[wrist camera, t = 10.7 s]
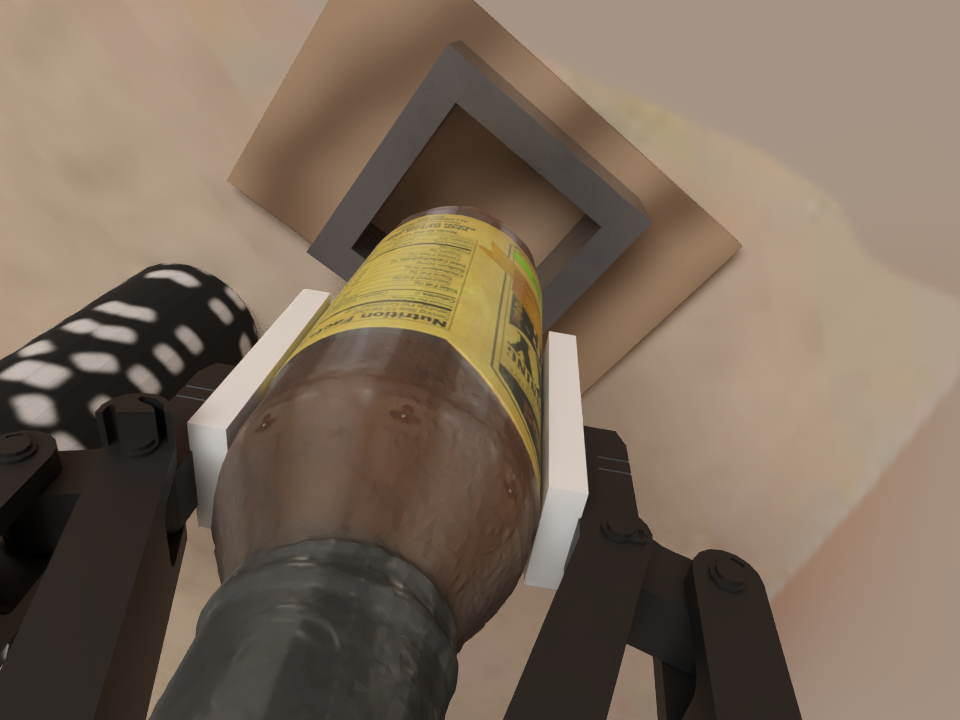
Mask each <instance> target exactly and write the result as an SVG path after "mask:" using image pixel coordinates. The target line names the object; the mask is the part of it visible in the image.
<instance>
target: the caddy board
mask: <svg viewBox="0 0 960 720" xmlns="http://www.w3.org/2000/svg"><path fill="white" fill-rule="evenodd" d="M459 40H461V41H462V42H464V43H465V44H466V45H467V46H468V47H469V48H470V49H472V50H473V51H474V52H475V53H476V54H477V55H478V56H479V57H481V58H482V59H483V60H484V61H485V62H486V63H487V64H488V65H490V66H491V67H492V68H493V69H494V70H495V71H496V72H497V73H499V74H500V75H501V76H502V77H503V78H504V79H505V80H507V81H508V82H509V83H510V84H511V85H512V86H513V87H514V88H516V89H517V90H518V91H519V92H520V93H521V94H522V95H523V96H525V97H526V98H527V99H528V100H529V101H530V102H531V103H532V104H534V105H535V106H536V107H537V108H538V109H539V110H540V111H542V112H543V113H544V114H545V115H546V116H547V117H548V118H549V119H551V120H552V121H553V122H554V123H555V124H556V125H557V126H558V127H560V128H561V129H562V130H563V131H564V132H565V133H566V134H568V135H569V136H570V137H571V138H572V139H573V140H574V141H575V142H577V143H578V144H579V145H580V146H581V147H582V148H583V149H584V150H586V151H587V152H588V153H589V154H590V155H591V156H592V157H593V158H595V159H596V160H597V161H598V162H599V163H600V164H601V165H603V166H604V167H605V168H606V169H607V170H608V171H609V172H610V173H612V174H613V175H614V176H615V177H616V178H617V179H618V180H619V181H621V182H622V183H623V184H624V185H625V186H626V187H627V188H628V189H630V190H631V191H632V192H633V193H634V194H635V195H636V196H638V197H639V198H640V200H641V202H642V204H643V206H644V208H645V210H646V212H647V214H648V216H649V218H650V220H651V222H652V223H651V224H650V225H649V226H648V227H647V229H646V230H645V231H644V232H643V233H642V234H641V235H640V236H639V237H638V238H637V239H636V240H635V241H634V242H633V243H632V244H631V245H630V246H629V247H628V248H627V249H626V250H625V251H624V252H623V253H622V254H621V255H620V256H619V257H618V258H617V259H616V260H615V261H614V262H613V263H612V264H611V265H610V266H609V267H608V268H607V269H606V270H605V272H604V273H603V274H602V275H601V276H600V277H599V278H598V279H597V280H596V281H595V282H594V283H593V284H592V285H591V286H590V287H589V288H588V289H587V290H586V291H585V292H584V293H583V294H582V295H581V296H580V297H579V298H578V299H577V300H576V301H575V302H574V303H573V304H572V305H571V306H570V307H569V308H568V309H567V310H566V311H565V312H564V313H563V315H562V316H561V317H560V318H559V319H558V320H557V321H556V322H555V323H554V324H553V325H552V326H551V327H550V328H549V329H548V330H547V331H546V332H545V333H544V334H543V335H542V361H543V356H544V352H545V347H546V343H547V338H548V334H549V331H551V332H557V333H563V334H568V335H574V336H576V344H577V356H578V369H579V381H580V394H581V395H582V394H583V393H584V392H585V391H586V390H587V389H588V388H590V387H591V386H592V385H593V384H594V383H595V382H596V381H597V380H598V379H599V378H600V377H601V376H603V375H604V374H605V373H606V372H607V371H608V370H609V369H610V368H611V367H612V366H613V365H614V364H616V363H617V362H618V361H619V360H620V359H621V358H622V357H623V356H624V355H625V354H626V353H627V352H629V351H630V350H631V349H632V348H633V347H634V346H635V345H636V344H637V343H638V342H639V341H640V340H642V339H643V338H644V337H645V336H646V335H647V334H648V333H649V332H650V331H651V330H652V329H653V328H655V327H656V326H657V325H658V324H659V323H660V322H661V321H662V320H663V319H664V318H665V317H666V316H668V315H669V314H670V313H671V312H672V311H673V310H674V309H675V308H676V307H677V306H678V305H679V304H681V303H682V302H683V301H684V300H685V299H686V298H687V297H688V296H689V295H690V294H691V293H692V292H694V291H695V290H696V289H697V288H698V287H699V286H700V285H701V284H702V283H703V282H704V281H705V280H707V279H708V278H709V277H710V276H711V275H712V274H713V273H714V272H715V271H716V270H717V269H718V268H720V267H721V266H722V265H723V264H724V263H725V262H726V261H727V260H728V259H729V258H730V257H731V256H733V255H734V254H735V253H736V252H737V251H738V250H739V249H740V248H741V247H742V245H741V244H740V243H739V242H738V241H737V240H736V239H735V238H734V237H733V236H732V235H731V234H730V233H729V232H728V231H727V230H725V229H724V228H723V227H722V226H721V225H720V224H719V223H718V222H717V221H716V220H714V219H713V218H712V217H711V216H710V215H709V214H708V213H707V212H706V211H705V210H703V209H702V208H701V207H700V206H699V205H698V204H697V203H696V202H695V201H694V200H692V199H691V198H690V197H689V196H688V195H687V194H686V193H685V192H684V191H683V190H681V189H680V188H679V187H678V186H677V185H676V184H675V183H674V182H673V181H672V180H670V179H669V178H668V177H667V176H666V175H665V174H664V173H663V172H662V171H661V170H659V169H658V168H657V167H656V166H655V165H654V164H653V163H652V162H651V161H650V160H648V159H647V158H646V157H645V156H644V155H643V154H642V153H641V152H640V151H639V150H638V149H636V148H635V147H634V146H633V145H632V144H631V143H630V142H629V141H628V140H627V139H625V138H624V137H623V136H622V135H621V134H620V133H619V132H618V131H617V130H616V129H614V128H613V127H612V126H611V125H610V124H609V123H608V122H607V121H606V120H605V119H603V118H602V117H601V116H600V115H599V114H598V113H597V112H596V111H595V110H594V109H592V108H591V107H590V106H589V105H588V104H587V103H586V102H585V101H584V100H583V99H581V98H580V97H579V96H578V95H577V94H576V93H575V92H574V91H573V90H572V89H570V88H569V87H568V86H567V85H566V84H565V83H564V82H563V81H562V80H561V79H559V78H558V77H557V76H556V75H555V74H554V73H553V72H552V71H551V70H550V69H549V68H547V67H546V66H545V65H544V64H543V63H542V62H541V61H540V60H539V59H538V58H536V57H535V56H534V55H533V54H532V53H531V52H530V51H529V50H528V49H527V48H525V47H524V46H523V45H522V44H521V43H520V42H519V41H518V40H517V39H516V38H514V37H513V36H512V35H511V34H510V33H509V32H508V31H507V30H506V29H505V28H503V27H502V26H501V25H500V24H499V23H498V22H497V21H496V20H495V19H494V18H492V17H491V16H490V15H489V14H488V13H487V12H486V11H485V10H484V9H483V8H481V7H480V6H479V5H478V4H477V3H476V2H475V1H474V0H329V1H328V2H327V4H326V6H325V8H324V10H323V11H322V13H321V15H320V17H319V18H318V20H317V22H316V24H315V25H314V27H313V29H312V31H311V33H310V34H309V36H308V38H307V40H306V41H305V43H304V45H303V47H302V48H301V50H300V52H299V54H298V56H297V57H296V59H295V61H294V63H293V64H292V66H291V68H290V70H289V71H288V73H287V75H286V77H285V78H284V80H283V82H282V84H281V86H280V87H279V89H278V91H277V93H276V94H275V96H274V98H273V100H272V101H271V103H270V105H269V107H268V109H267V110H266V112H265V114H264V116H263V117H262V119H261V121H260V123H259V124H258V126H257V128H256V130H255V132H254V133H253V135H252V137H251V139H250V140H249V142H248V144H247V146H246V147H245V149H244V151H243V153H242V155H241V156H240V158H239V160H238V162H237V163H236V165H235V167H234V169H233V170H232V172H231V174H230V176H229V178H228V179H227V181H228V182H229V183H231V184H232V185H233V186H235V187H236V188H237V189H239V190H240V191H241V192H243V193H244V194H245V195H247V196H248V197H250V198H251V199H252V200H254V201H255V202H256V203H258V204H259V205H260V206H262V207H263V208H265V209H266V210H267V211H269V212H270V213H271V214H273V215H274V216H275V217H277V218H278V219H279V220H281V221H282V222H284V223H285V224H286V225H288V226H289V227H290V228H292V229H293V230H294V231H296V232H297V233H298V234H300V235H301V236H303V237H304V238H305V239H307V240H308V241H309V242H311V243H312V244H313V242H314V241H315V239H316V238H317V236H318V235H319V233H320V232H321V230H322V229H323V227H324V226H325V225H326V223H327V222H328V220H329V219H330V217H331V216H332V214H333V213H334V211H335V210H336V208H337V207H338V205H339V204H340V202H341V201H342V199H343V198H344V197H345V195H346V194H347V192H348V191H349V189H350V188H351V186H352V185H353V183H354V182H355V180H356V179H357V177H358V176H359V174H360V173H361V171H362V170H363V169H364V167H365V166H366V164H367V163H368V161H369V160H370V158H371V157H372V155H373V154H374V152H375V151H376V149H377V148H378V146H379V145H380V143H381V142H382V141H383V139H384V138H385V136H386V135H387V133H388V132H389V130H390V129H391V127H392V126H393V124H394V123H395V121H396V120H397V118H398V117H399V116H400V114H401V113H402V111H403V110H404V108H405V107H406V105H407V104H408V102H409V101H410V99H411V98H412V96H413V95H414V93H415V92H416V90H417V89H418V88H419V86H420V85H421V83H422V82H423V80H424V79H425V77H426V76H427V74H428V73H429V71H430V70H431V68H432V67H433V65H434V64H435V62H436V61H437V60H438V58H439V57H440V55H441V54H442V52H443V51H444V49H445V48H446V46H447V45H448V44H449V43H452V42H456V41H459ZM445 206H471V207H475V208H478V209H482V210H484V211H486V212H488V213H489V214H490V215H492V216H493V217H494V218H496V219H498V220H500V221H501V222H502V223H504V224H505V225H507V226H508V227H509V228H510V229H512V230H513V231H514V232H515V233H516V234H517V236H518V237H519V238H520V239H521V240H522V241H523V242H524V243H525V244H526V245H527V247H528V248H529V250H530V252H531V254H532V256H533V258H534V263H535V269H536V268H537V267H538V266H539V264H540V263H541V262H542V261H543V260H544V259H545V258H546V257H547V256H548V255H549V253H550V252H551V251H552V250H553V249H554V248H555V247H556V246H557V245H558V244H559V242H560V241H561V240H562V239H563V238H564V237H565V236H566V235H567V234H568V233H569V231H570V230H571V229H572V228H573V227H574V226H575V225H576V224H577V223H578V222H579V220H580V219H581V218H582V217H583V216H584V215H585V214H586V213H585V212H584V211H582V210H581V209H580V208H579V207H578V206H576V205H575V204H574V203H573V202H572V201H571V200H569V199H568V198H567V197H566V196H565V195H564V194H562V193H561V192H560V191H559V190H558V189H557V188H555V187H554V186H553V185H552V184H551V183H550V182H548V181H547V180H546V179H545V178H544V177H543V176H541V175H540V174H539V173H538V172H537V171H535V170H534V169H533V168H532V167H531V166H530V165H528V164H527V163H526V162H525V161H524V160H523V159H521V158H520V157H519V156H518V155H517V154H516V153H514V152H513V151H512V150H511V149H510V148H509V147H507V146H506V145H505V144H504V143H503V142H502V141H500V140H499V139H498V138H497V137H496V136H494V135H493V134H492V133H491V132H490V131H489V130H487V129H486V128H485V127H484V126H483V125H482V124H480V123H479V122H478V121H477V120H476V119H475V118H473V117H472V116H471V115H470V114H469V113H468V112H466V111H465V110H464V109H463V108H462V107H460V106H459V105H458V104H457V106H456V107H455V109H454V110H453V111H452V113H451V114H450V116H449V117H448V118H447V120H446V121H445V122H444V124H443V125H442V127H441V128H440V129H439V131H438V132H437V134H436V135H435V136H434V138H433V139H432V141H431V142H430V143H429V145H428V146H427V147H426V149H425V150H424V152H423V153H422V154H421V156H420V157H419V159H418V160H417V161H416V163H415V164H414V165H413V167H412V168H411V170H410V171H409V172H408V174H407V175H406V177H405V178H404V179H403V181H402V182H401V184H400V185H399V186H398V188H397V189H396V190H395V192H394V193H393V195H392V196H391V197H390V199H389V200H388V202H387V203H386V204H385V206H384V207H383V209H382V210H381V211H380V213H379V214H378V215H377V217H376V218H375V220H374V221H373V222H372V223H373V224H374V225H375V226H377V227H378V228H379V229H381V230H382V231H383V232H385V233H386V234H387V235H388V234H390V233H391V232H392V231H394V230H395V229H396V227H397V226H398V225H399V224H400V223H401V222H402V221H403V220H405V219H406V218H408V217H409V216H411V215H414V214H417V213H421V212H423V211H426V210H429V209H434V208H438V207H445Z"/></svg>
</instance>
